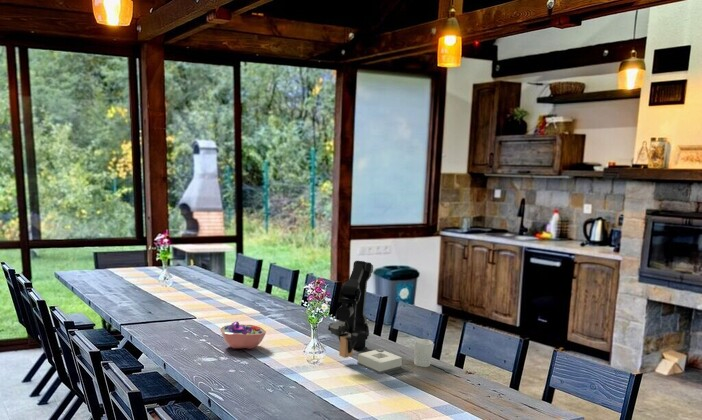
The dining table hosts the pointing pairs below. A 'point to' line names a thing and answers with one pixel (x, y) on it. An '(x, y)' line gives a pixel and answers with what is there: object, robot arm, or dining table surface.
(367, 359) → the socket plate
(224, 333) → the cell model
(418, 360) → the white cup
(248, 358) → the dining table surface
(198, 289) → the dining table surface
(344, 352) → the plug
